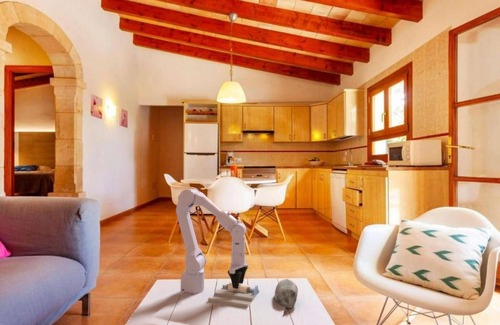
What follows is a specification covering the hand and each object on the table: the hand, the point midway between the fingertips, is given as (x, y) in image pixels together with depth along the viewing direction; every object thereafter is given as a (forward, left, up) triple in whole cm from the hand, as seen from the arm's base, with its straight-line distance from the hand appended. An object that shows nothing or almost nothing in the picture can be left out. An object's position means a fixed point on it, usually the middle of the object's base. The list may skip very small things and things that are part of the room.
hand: (238, 285), depth 124 cm
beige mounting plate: (0, -4, -4) cm, 6 cm away
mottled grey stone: (+20, +1, -5) cm, 21 cm away
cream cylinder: (0, 0, -3) cm, 3 cm away
